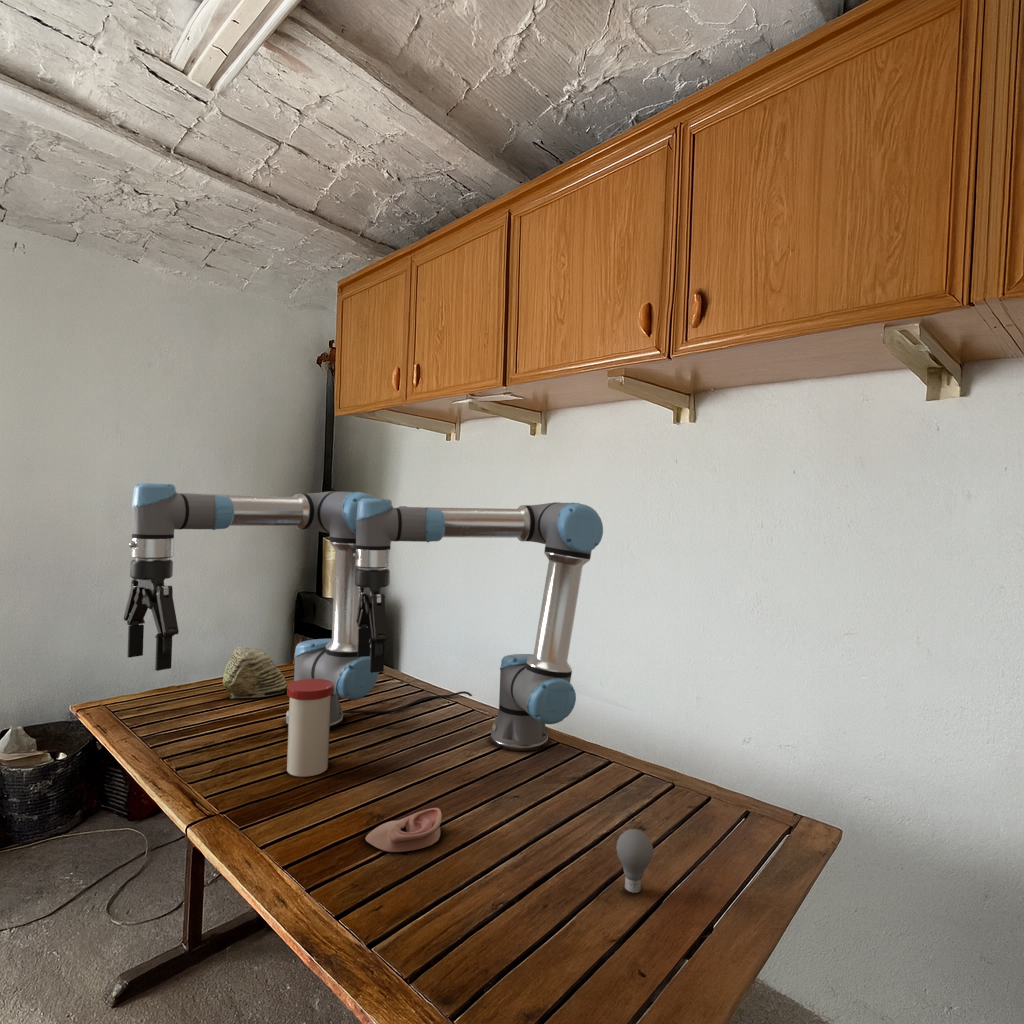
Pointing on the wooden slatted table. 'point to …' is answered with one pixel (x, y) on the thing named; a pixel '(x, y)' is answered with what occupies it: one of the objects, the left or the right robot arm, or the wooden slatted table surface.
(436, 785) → the wooden slatted table surface
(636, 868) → the light bulb
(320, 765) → the jar
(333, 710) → the left robot arm
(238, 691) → the fossil
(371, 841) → the anatomical model
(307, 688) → the lid
